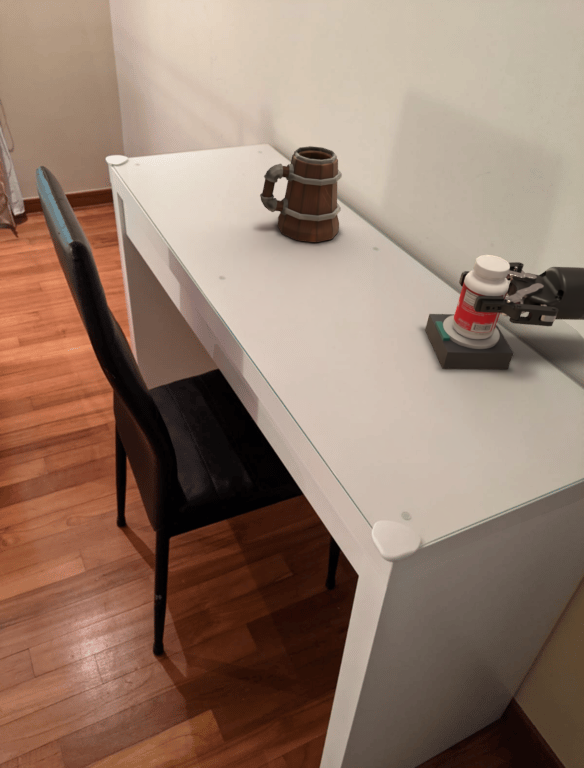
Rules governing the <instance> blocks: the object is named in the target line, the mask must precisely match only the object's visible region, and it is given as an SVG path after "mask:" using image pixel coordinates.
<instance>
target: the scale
mask: <svg viewBox="0 0 584 768" xmlns="http://www.w3.org/2000/svg"><path fill="white" fill-rule="evenodd" d="M454 315H455V313H449V314H448V313H429V314H428V318H427V321H426V325H425V329H424V330H425V332H426V335H427V337H428V339H429V341H430V343H431V345H432V348H433V350H434V352H435V356H436V357H437V359H438V361H439V363H440V366H441V368H442V369H443V370H445V369H446V370H447V369H450V370H452V369H453V370H508V369H509V367H510V365H511V362H512V361H513V360H512V359H513V357H514V354H515V353H514V351H513V349H512V347H511V346H510V344H509V343H508V341H507V339H506V338H505V336H504V334H503V333H502V331H501V330H500V328H499V327H498V324H496V327H495V330H494V332H493V334H492V335H491V336H490V337H488V338H486V339H470V338H467V337H465V336H462V335H461V334H459V333H458V332H457V331H456V330H455V329H454V327H453V318H454Z"/></svg>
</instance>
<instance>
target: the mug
mask: <svg viewBox="0 0 584 768" xmlns="http://www.w3.org/2000/svg"><path fill="white" fill-rule="evenodd" d="M342 175H343V174H342V172H341V170H340V169H339V159H338V155H337V154H336V153H335V152H334V151H333V150H331V149H328V148H325V147H322V146H313V145H309V146H302V147H298V148H297V149H295V150H294V151H293V154H292V155H291V160H290V163H288V164H286V165H283V164H282V163H278V164H274V165H272V166H271V167H270V168H268V169H267V170H266V172H265V174H264V175H263V177H264V183H263V188H262V192H261V193H260V194H259V197H260V201H261V203H262V205H263V207H264V208H265V209H266V210H267V211H270V212H271V213H274V212H280V213H279V215H278V217H277V228H278V229H279V231H280V233H281V234H282V235H284V236H286V237H289V238H290V239H293V240H295V241H301V242H310V243H321V242H324V241H330V240H333V239H334V238H335V237H336V235H338V233H339V229H340V221H339V220H340V219H339V216H338V214H339V213H340V212H341V209H342V207H341V206H340V205H339V203H338V181H339V180H340V179H341V178H342ZM283 178H285V179H286V181H287V184H286V187H285V194H284V197H283V198H282V199H281V200H279V199H277V198H276V197H275V195H274V190H275V186H276V183H278V180H279V179H280V180H282V179H283Z"/></svg>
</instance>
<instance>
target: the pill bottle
mask: <svg viewBox="0 0 584 768" xmlns="http://www.w3.org/2000/svg"><path fill="white" fill-rule="evenodd" d="M509 263H510V262H508V261H507V260H506V259H504V258H503V257H500V256H497V255H492V254H482V255H479V256H478V257H476V258H475V261H474V265H473V267H472V268H473V269H471V270H469V271H470V272H469V273H468V274H467V275H466V277H465V280H464V283H463V287H462V286H461V287H462V288H461V291H460V294H459V297H458V301H457V304H456V309H455V310H454V311H455V312H454V314H455V315H454V318H453V327H454V329H455V330H456V331H457V332H458V333H459V334H461V335H462V336H465V337H467V338H470V339H486V338H488V337H490V336H491V335H492V334H493V332H494V330H495V327H496V325H498V321H499V319H500V315H501V313H489V312H476V311H475V309H474V303H475V300H476V298H477V297H478V296H503V298H504V299H505V298H506V297H507V296H506V295H507V292H508V288H509V284H510V282H509V281H508V280H507V279H506V277H507V275H508V272H509V269H510V265H509Z"/></svg>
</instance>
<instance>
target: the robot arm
mask: <svg viewBox="0 0 584 768" xmlns="http://www.w3.org/2000/svg"><path fill="white" fill-rule="evenodd" d="M508 263H509V265H510V269H509V272H508V275H507V277H506V279H507V280H508V282H509V288H508V292H507V295H506V298H505V299H504V298H503V296H478V297H477V298H476V300H475V303H474V309H475V311H476V312H489V313H500V315H501V316H504V317H509V319H508V322H510V323H512V324H518V325H530V326H539V327H540V326H541V327H553V324H554V322H555V320H565V321H566V320H569V321H584V267H577V266H576V267H575V266H551V267H549V268H547V269H545V270H544V271H543V272H542V273H540V274H534V273H530V272H525V271H524V270H523V269H524V266H525V264H524V263H523V262H519V261H515V262H508ZM470 271H471V270H463V271H462V272H461V274H460V277H459V281H458V284H459V285H460V287H463V283H464V280H465V277H466V275H467V274H468V273H469V272H470ZM525 313H528V314H527V315H526V316H522V315H523V314H525Z"/></svg>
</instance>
